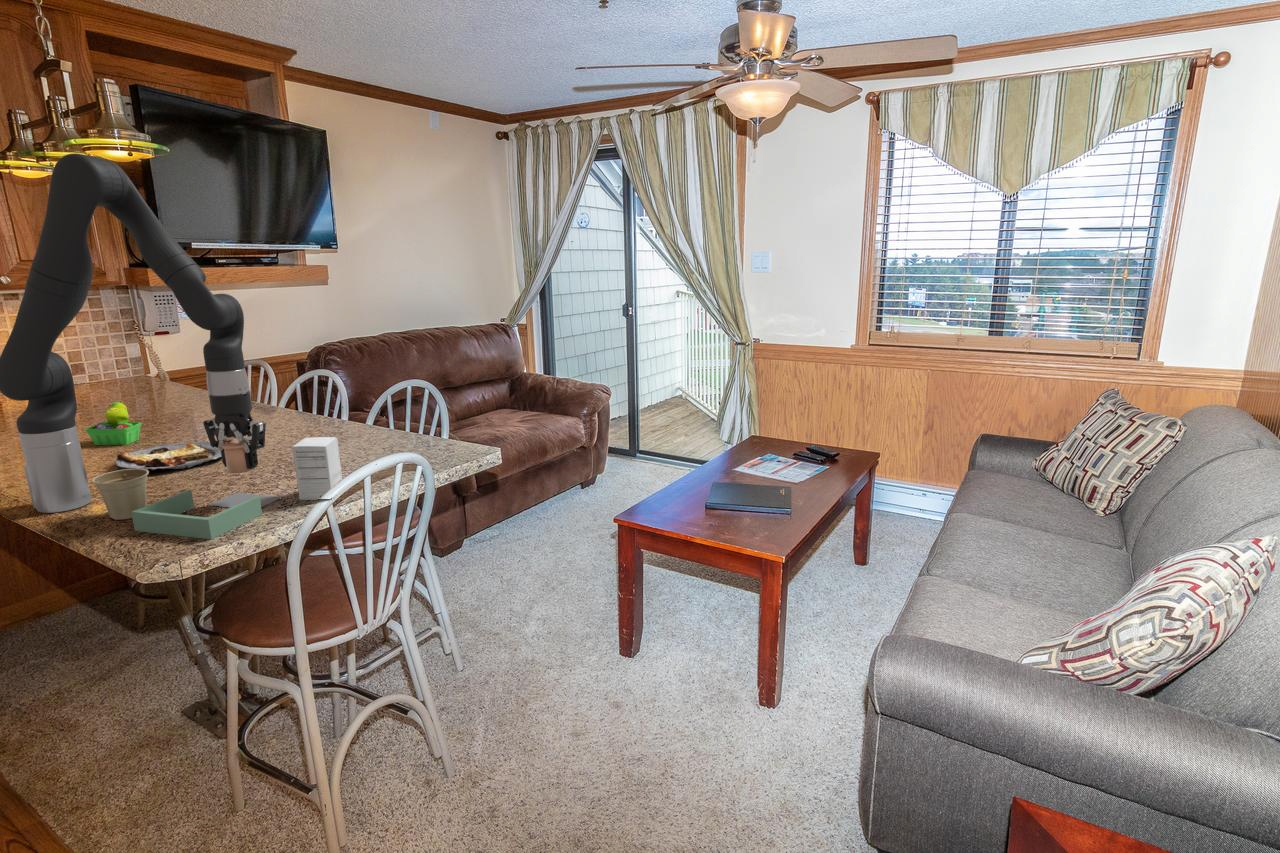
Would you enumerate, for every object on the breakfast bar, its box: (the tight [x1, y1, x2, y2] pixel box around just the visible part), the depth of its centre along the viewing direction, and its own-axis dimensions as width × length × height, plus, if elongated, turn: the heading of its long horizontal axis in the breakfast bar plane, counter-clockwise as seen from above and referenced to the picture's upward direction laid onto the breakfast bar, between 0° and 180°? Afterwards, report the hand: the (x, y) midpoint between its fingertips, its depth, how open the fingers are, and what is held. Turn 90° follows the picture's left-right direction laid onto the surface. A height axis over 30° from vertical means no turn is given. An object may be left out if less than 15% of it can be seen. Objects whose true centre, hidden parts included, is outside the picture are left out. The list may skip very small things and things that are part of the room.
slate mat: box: [208, 492, 283, 509], centre depth 149 cm, size 12×8×1 cm, turn 77°
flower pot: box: [91, 468, 150, 521], centre depth 140 cm, size 9×9×9 cm
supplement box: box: [291, 436, 343, 501], centre depth 152 cm, size 7×7×13 cm
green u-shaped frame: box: [131, 489, 263, 540], centre depth 137 cm, size 18×13×4 cm
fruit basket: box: [84, 401, 142, 446], centre depth 193 cm, size 11×9×11 cm
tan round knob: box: [222, 439, 256, 474], centre depth 146 cm, size 6×6×6 cm
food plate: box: [113, 441, 222, 472], centre depth 177 cm, size 25×23×4 cm
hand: (241, 466), depth 147 cm, fingers closed on tan round knob, 5 cm apart
